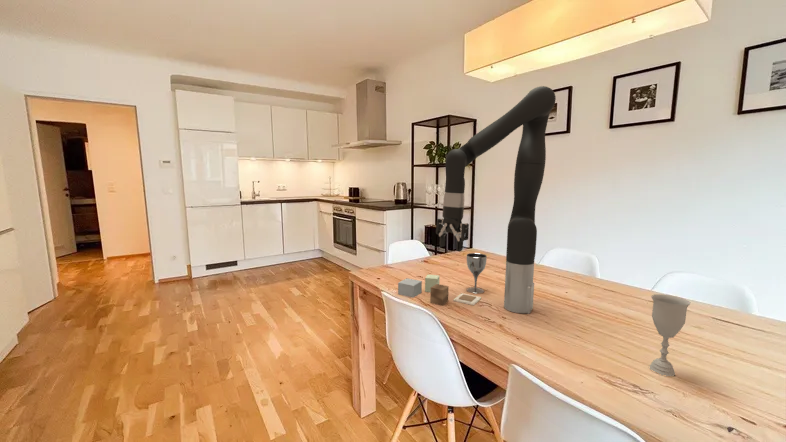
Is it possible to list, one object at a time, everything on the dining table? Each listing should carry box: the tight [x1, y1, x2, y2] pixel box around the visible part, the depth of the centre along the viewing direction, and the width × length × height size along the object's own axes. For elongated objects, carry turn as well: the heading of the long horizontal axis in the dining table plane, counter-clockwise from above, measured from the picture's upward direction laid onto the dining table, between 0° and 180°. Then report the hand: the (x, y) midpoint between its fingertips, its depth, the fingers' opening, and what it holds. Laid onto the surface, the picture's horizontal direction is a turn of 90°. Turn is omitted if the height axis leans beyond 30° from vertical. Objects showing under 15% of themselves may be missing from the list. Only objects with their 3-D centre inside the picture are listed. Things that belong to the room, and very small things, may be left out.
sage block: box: [424, 274, 440, 293], centre depth 134 cm, size 5×5×6 cm
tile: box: [453, 293, 482, 306], centre depth 124 cm, size 8×8×1 cm
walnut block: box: [429, 283, 450, 306], centre depth 121 cm, size 5×5×6 cm
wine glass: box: [466, 252, 488, 294], centre depth 133 cm, size 8×8×15 cm
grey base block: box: [397, 278, 423, 298], centre depth 130 cm, size 7×7×5 cm
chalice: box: [649, 293, 691, 377], centre depth 77 cm, size 7×7×18 cm
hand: (450, 248), depth 120 cm, fingers open, 8 cm apart
